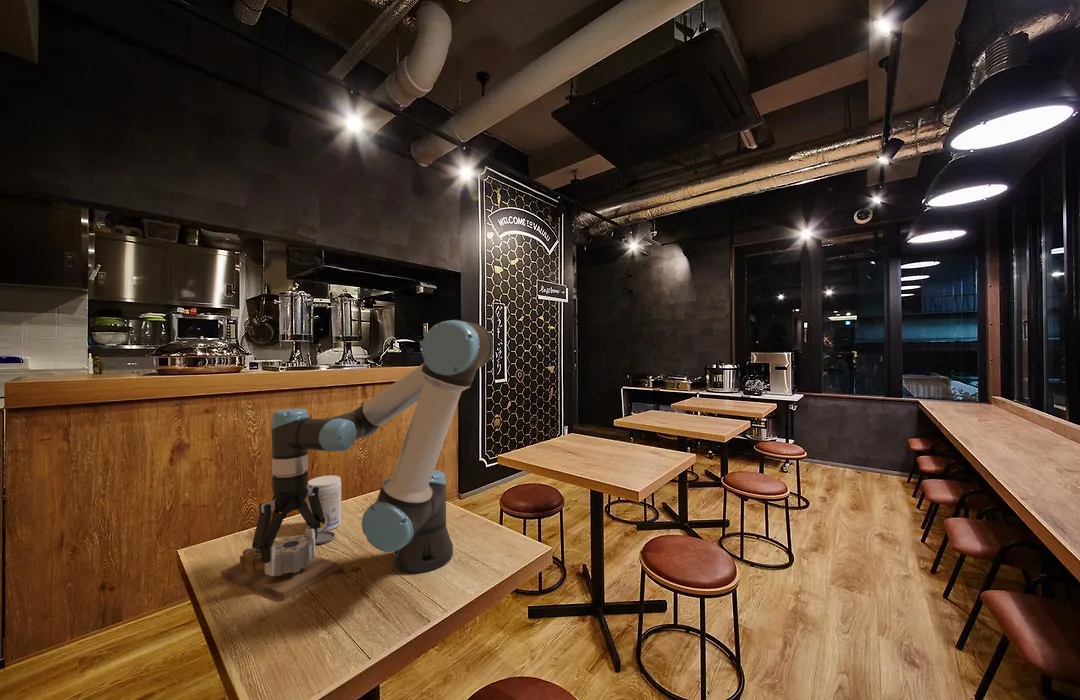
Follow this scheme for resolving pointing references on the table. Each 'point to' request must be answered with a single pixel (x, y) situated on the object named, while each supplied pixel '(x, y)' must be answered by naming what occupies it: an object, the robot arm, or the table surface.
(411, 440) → the robot arm
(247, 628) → the table surface
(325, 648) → the table surface
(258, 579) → the gear board
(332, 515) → the supplement tub
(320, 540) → the pocket watch
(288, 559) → the steel gear
